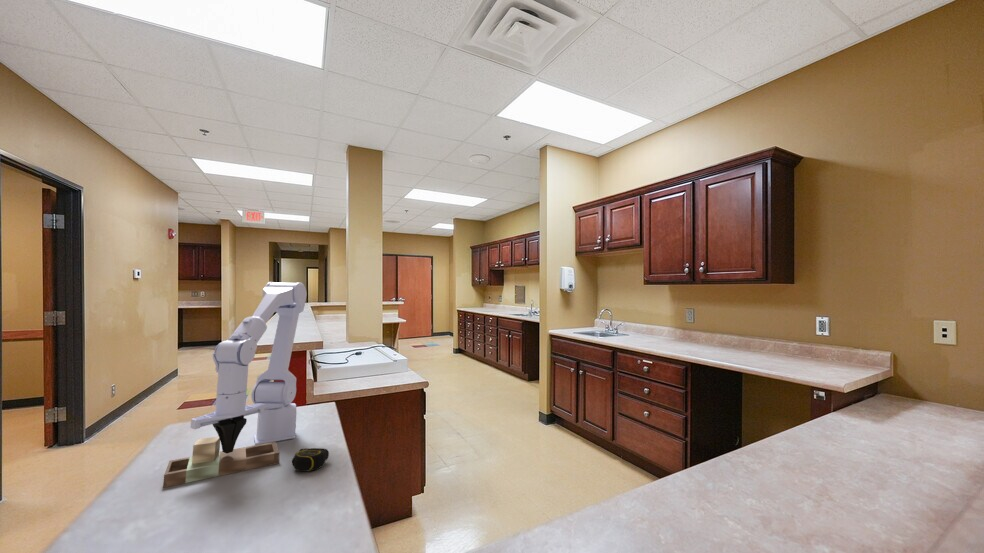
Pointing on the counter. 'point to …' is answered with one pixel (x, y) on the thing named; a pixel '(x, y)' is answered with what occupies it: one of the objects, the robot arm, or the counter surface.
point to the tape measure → (310, 459)
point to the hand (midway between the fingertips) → (227, 451)
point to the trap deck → (221, 464)
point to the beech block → (206, 450)
